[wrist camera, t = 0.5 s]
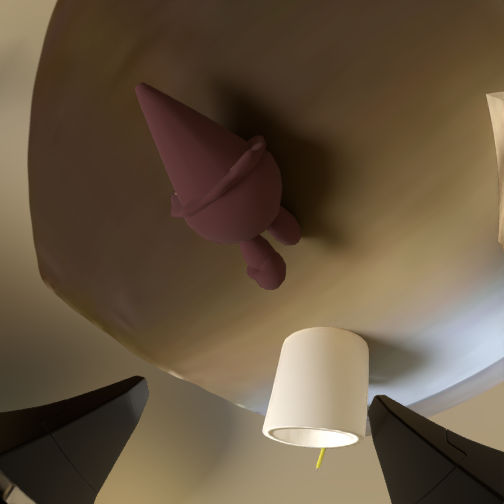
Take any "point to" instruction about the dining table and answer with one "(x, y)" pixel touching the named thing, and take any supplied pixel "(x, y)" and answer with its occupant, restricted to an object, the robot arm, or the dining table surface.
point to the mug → (320, 390)
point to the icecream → (222, 183)
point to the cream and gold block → (499, 150)
